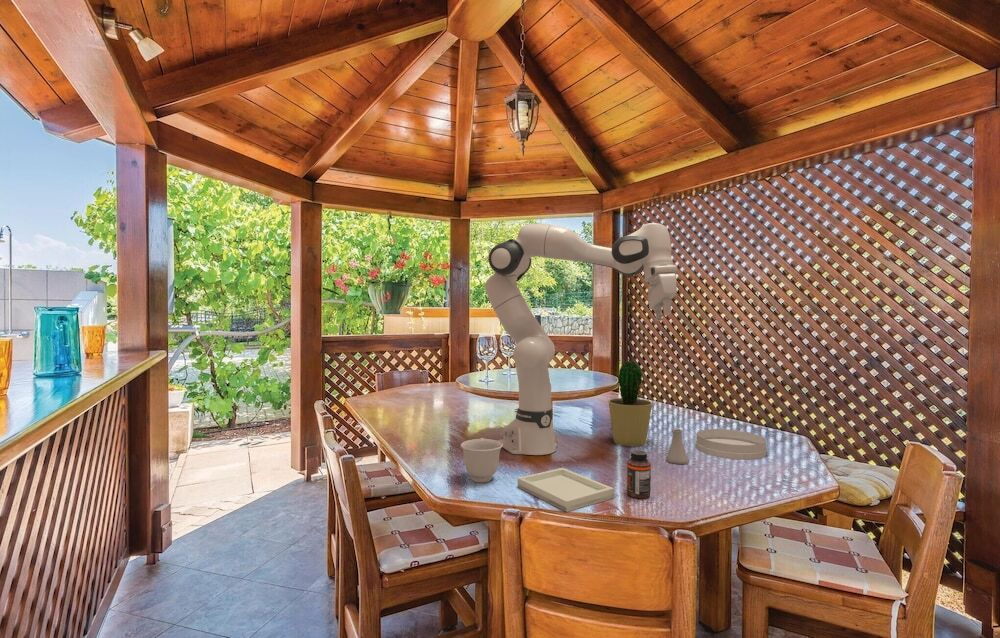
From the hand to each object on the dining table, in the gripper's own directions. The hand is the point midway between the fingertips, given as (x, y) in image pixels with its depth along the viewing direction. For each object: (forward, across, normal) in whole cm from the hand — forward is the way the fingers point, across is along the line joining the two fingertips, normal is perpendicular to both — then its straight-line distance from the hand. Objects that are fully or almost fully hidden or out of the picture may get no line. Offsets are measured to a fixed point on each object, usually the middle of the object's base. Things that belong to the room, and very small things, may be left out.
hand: (663, 318), depth 154 cm
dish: (+43, -29, +25) cm, 58 cm away
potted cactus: (+39, -36, -7) cm, 54 cm away
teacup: (+44, +5, -57) cm, 72 cm away
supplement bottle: (+49, +15, -15) cm, 53 cm away
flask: (+44, -15, +4) cm, 47 cm away
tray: (+48, +15, -34) cm, 60 cm away
